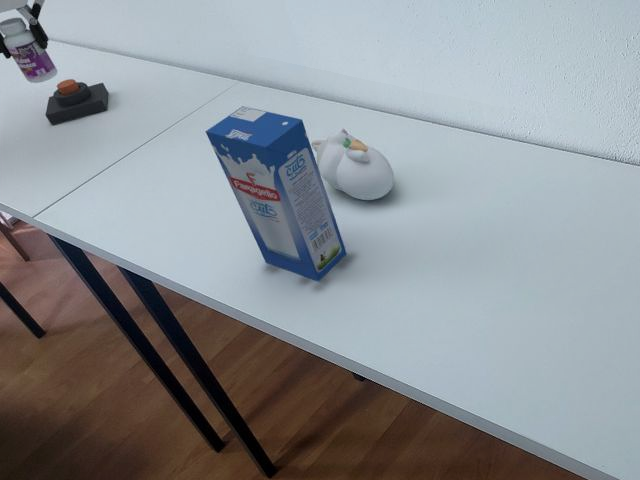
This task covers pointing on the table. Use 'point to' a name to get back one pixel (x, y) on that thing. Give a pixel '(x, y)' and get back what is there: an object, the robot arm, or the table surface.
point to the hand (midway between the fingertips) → (27, 50)
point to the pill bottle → (27, 51)
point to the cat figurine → (353, 166)
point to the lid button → (68, 86)
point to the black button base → (77, 103)
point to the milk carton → (279, 190)
